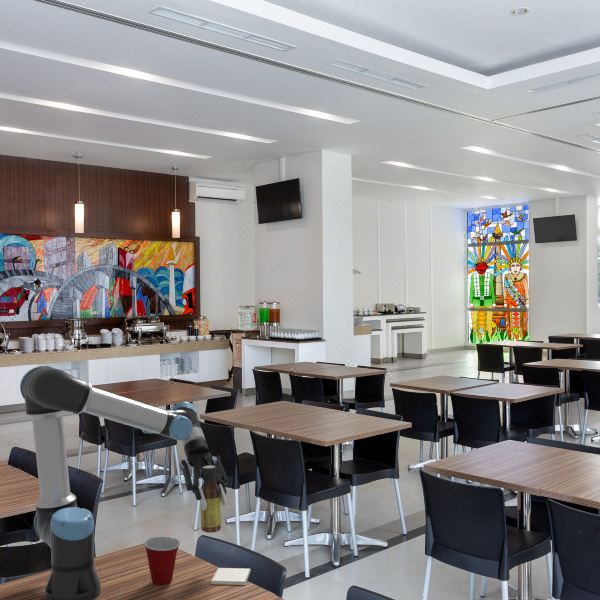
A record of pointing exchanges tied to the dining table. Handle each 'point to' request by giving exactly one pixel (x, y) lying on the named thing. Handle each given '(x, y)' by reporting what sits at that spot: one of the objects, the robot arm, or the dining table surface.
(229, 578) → the cream pad
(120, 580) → the dining table surface
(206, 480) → the sauce bottle
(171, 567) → the plastic cup
